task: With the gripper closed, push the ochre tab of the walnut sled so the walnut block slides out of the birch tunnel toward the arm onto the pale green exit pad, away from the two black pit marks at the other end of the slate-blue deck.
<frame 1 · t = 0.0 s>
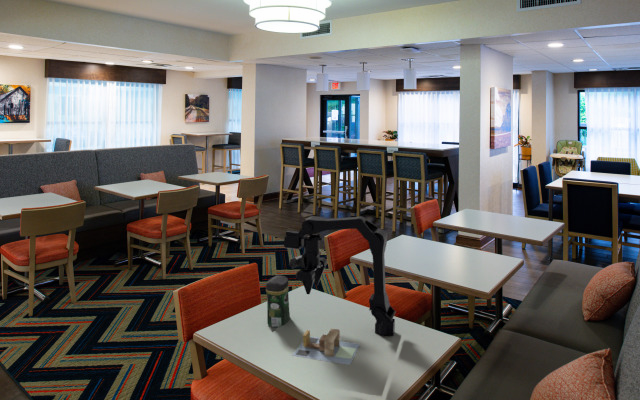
hand: (312, 289, 173), 15 cm above the table, tool pointing down, fingers open, 9 cm apart
deck: (326, 352, 156), on the table
tunnel: (332, 353, 155), resting on deck
coffee jar: (278, 323, 178), on the table
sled: (318, 341, 156), point 4 cm above the table, slide at 0.0 cm
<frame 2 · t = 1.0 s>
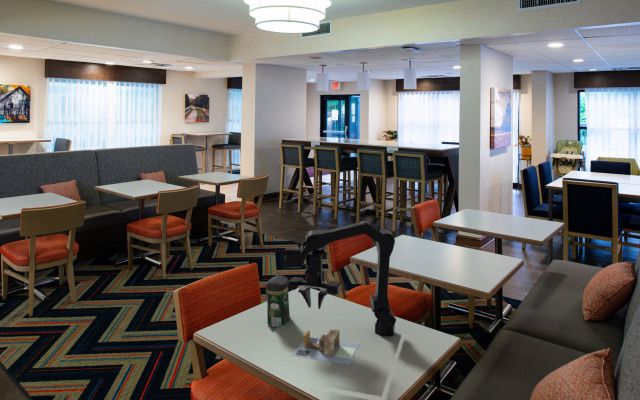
hand: (314, 308, 163), 12 cm above the table, tool pointing down, fingers open, 3 cm apart
nothing on the table moved.
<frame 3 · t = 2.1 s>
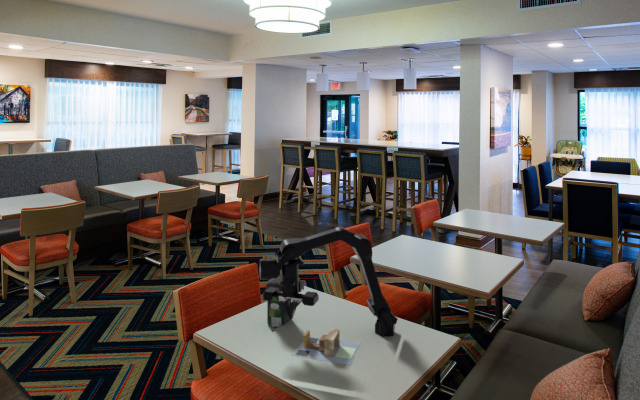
hand: (291, 319, 158), 10 cm above the table, tool pointing down, fingers closed
nothing on the table moved.
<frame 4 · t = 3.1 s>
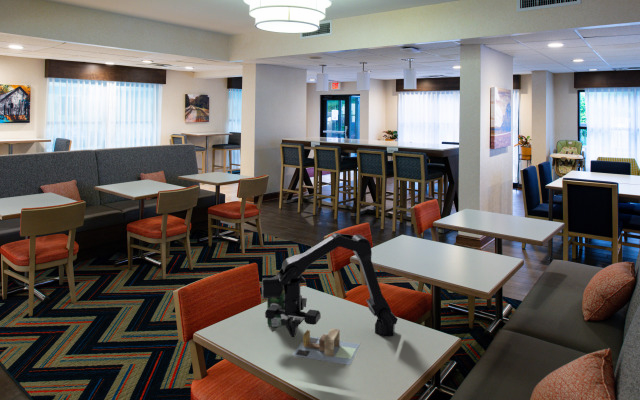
hand: (293, 337, 159), 4 cm above the table, tool pointing down, fingers closed
nothing on the table moved.
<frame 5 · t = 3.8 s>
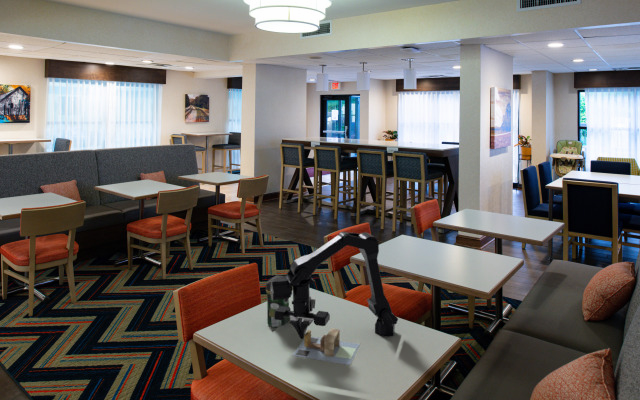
hand: (302, 338, 158), 4 cm above the table, tool pointing down, fingers closed
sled: (319, 341, 156), point 4 cm above the table, slide at 0.4 cm, touching gripper
everything else where it was.
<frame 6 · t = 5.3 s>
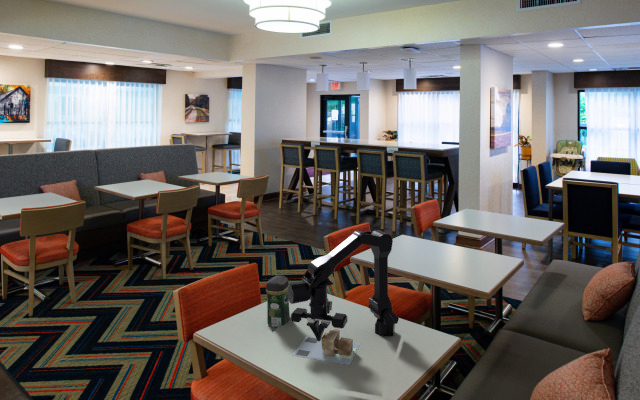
hand: (319, 340, 156), 4 cm above the table, tool pointing down, fingers closed
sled: (337, 343, 154), point 4 cm above the table, slide at 6.7 cm, touching gripper
everything else where it was.
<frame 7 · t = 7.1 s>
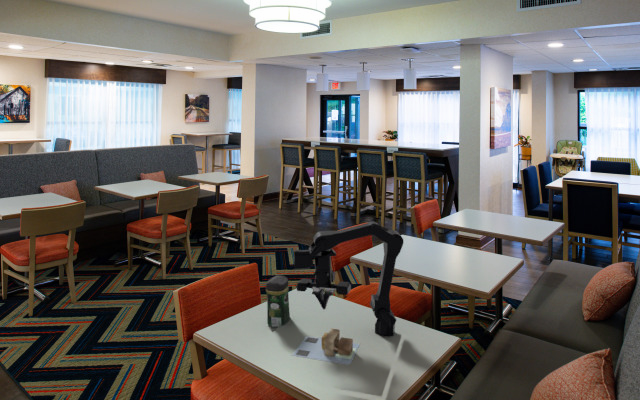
hand: (324, 308, 163), 12 cm above the table, tool pointing down, fingers closed
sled: (337, 343, 154), point 4 cm above the table, slide at 6.7 cm
everything else where it was.
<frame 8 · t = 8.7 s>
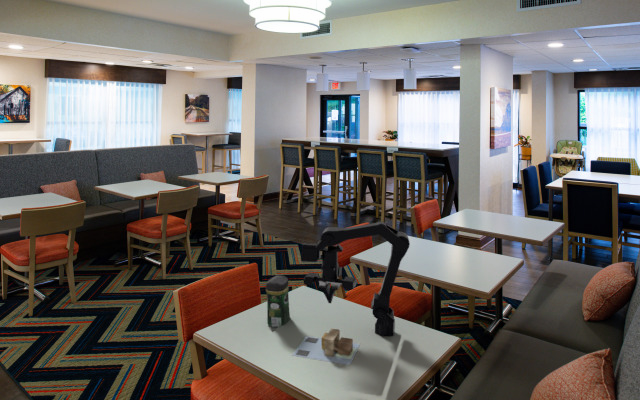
hand: (330, 302, 167), 12 cm above the table, tool pointing down, fingers closed
nothing on the table moved.
at the end: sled slide at 6.7 cm; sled inside the target area (1.1 cm from its centre), point 3.9 cm above the table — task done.
